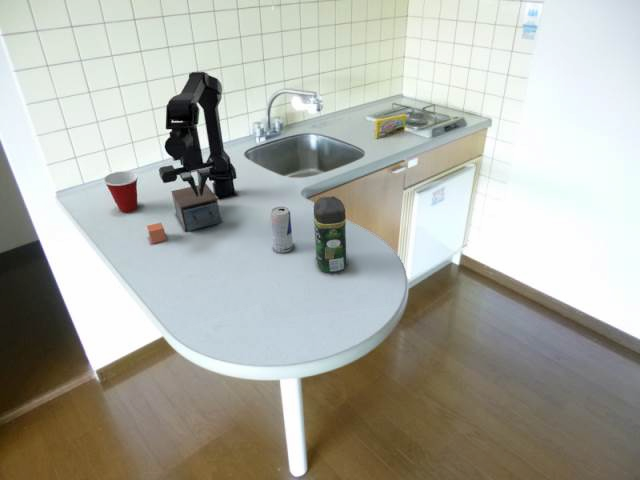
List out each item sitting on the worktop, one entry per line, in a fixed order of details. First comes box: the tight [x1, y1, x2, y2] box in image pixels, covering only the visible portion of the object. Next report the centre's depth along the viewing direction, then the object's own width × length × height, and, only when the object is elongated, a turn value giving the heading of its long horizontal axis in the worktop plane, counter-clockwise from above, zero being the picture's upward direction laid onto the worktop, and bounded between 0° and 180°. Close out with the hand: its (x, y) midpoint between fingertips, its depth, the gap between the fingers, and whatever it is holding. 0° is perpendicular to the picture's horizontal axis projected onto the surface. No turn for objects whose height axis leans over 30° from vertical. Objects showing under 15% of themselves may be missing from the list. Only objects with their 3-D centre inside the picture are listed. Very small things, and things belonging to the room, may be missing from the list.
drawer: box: [183, 202, 221, 232], centre depth 145 cm, size 17×10×7 cm, turn 27°
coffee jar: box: [313, 196, 347, 274], centre depth 121 cm, size 10×8×19 cm
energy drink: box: [270, 206, 294, 253], centre depth 130 cm, size 5×5×12 cm
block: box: [146, 222, 167, 245], centre depth 139 cm, size 4×4×4 cm
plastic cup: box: [102, 170, 139, 214], centre depth 156 cm, size 11×11×12 cm
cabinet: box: [170, 183, 222, 232], centre depth 149 cm, size 13×11×8 cm
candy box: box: [373, 113, 407, 140], centre depth 211 cm, size 16×2×8 cm, turn 120°
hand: (199, 195), depth 137 cm, fingers closed
